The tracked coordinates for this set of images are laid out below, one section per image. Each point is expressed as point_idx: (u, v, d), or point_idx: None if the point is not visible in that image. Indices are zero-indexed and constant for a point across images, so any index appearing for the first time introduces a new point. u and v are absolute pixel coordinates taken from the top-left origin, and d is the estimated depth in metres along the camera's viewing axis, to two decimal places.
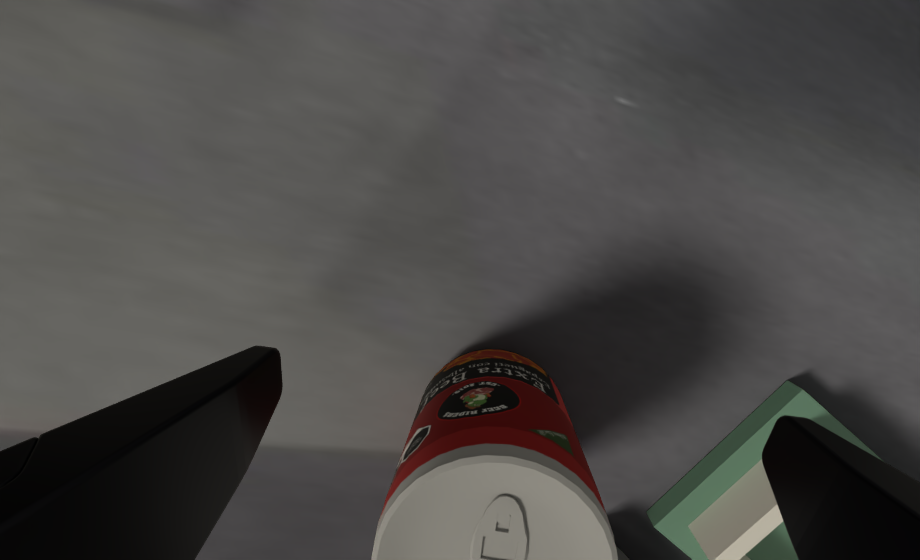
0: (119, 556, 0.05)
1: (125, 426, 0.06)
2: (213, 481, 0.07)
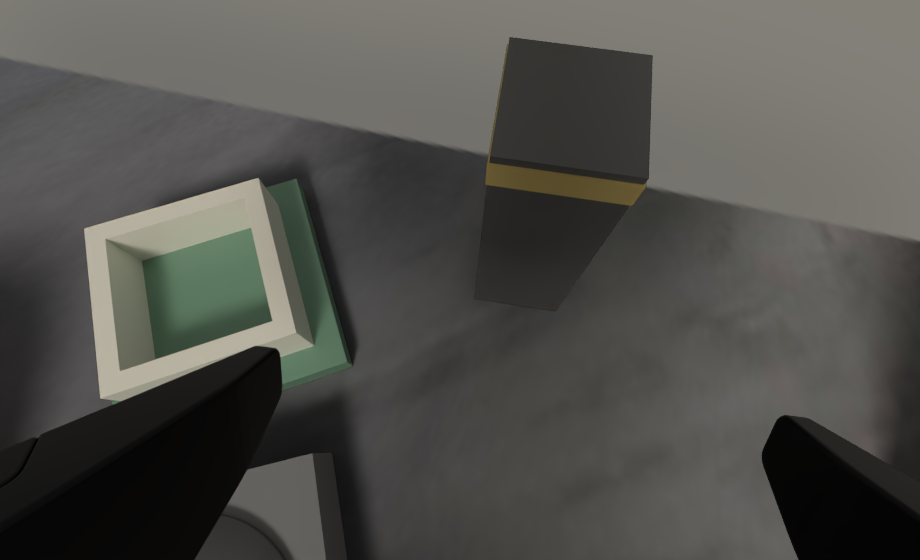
0: (119, 556, 0.05)
1: (125, 426, 0.06)
2: (213, 481, 0.07)
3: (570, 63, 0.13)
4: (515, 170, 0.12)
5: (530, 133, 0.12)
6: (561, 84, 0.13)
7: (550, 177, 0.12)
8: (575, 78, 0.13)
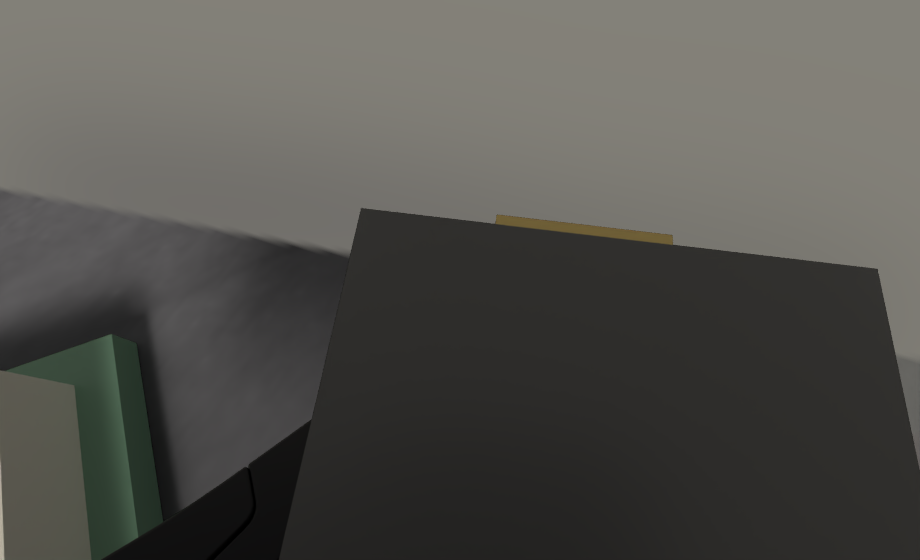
0: None
1: None
2: None
3: (581, 315, 0.03)
4: None
5: None
6: (550, 419, 0.03)
7: None
8: (604, 387, 0.03)
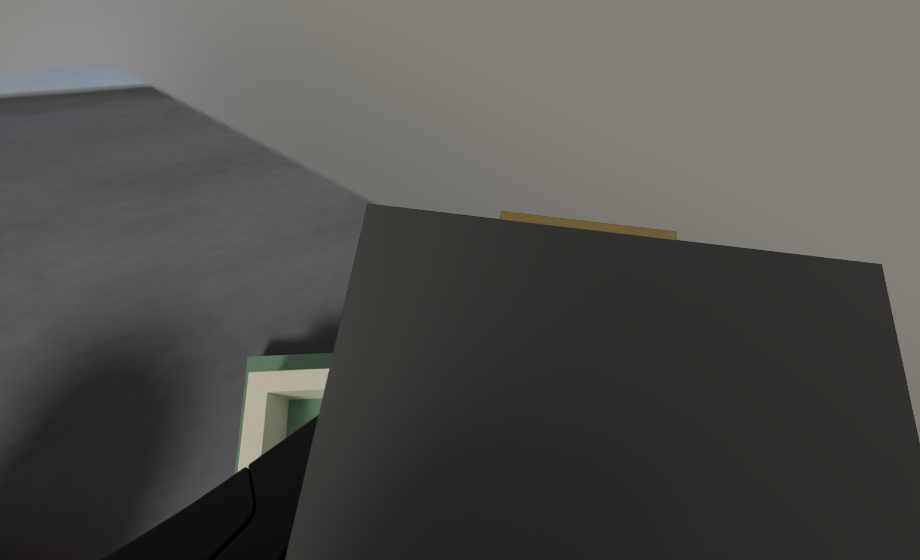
0: None
1: None
2: None
3: (586, 309, 0.03)
4: None
5: None
6: (556, 412, 0.03)
7: None
8: (610, 381, 0.03)
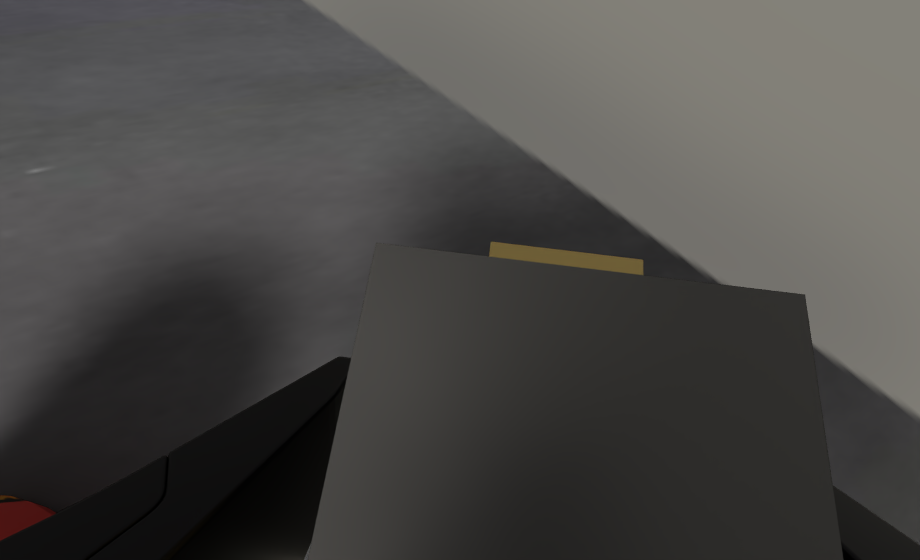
0: None
1: (248, 443, 0.06)
2: (314, 496, 0.07)
3: (558, 333, 0.04)
4: None
5: None
6: (531, 419, 0.04)
7: None
8: (576, 393, 0.04)
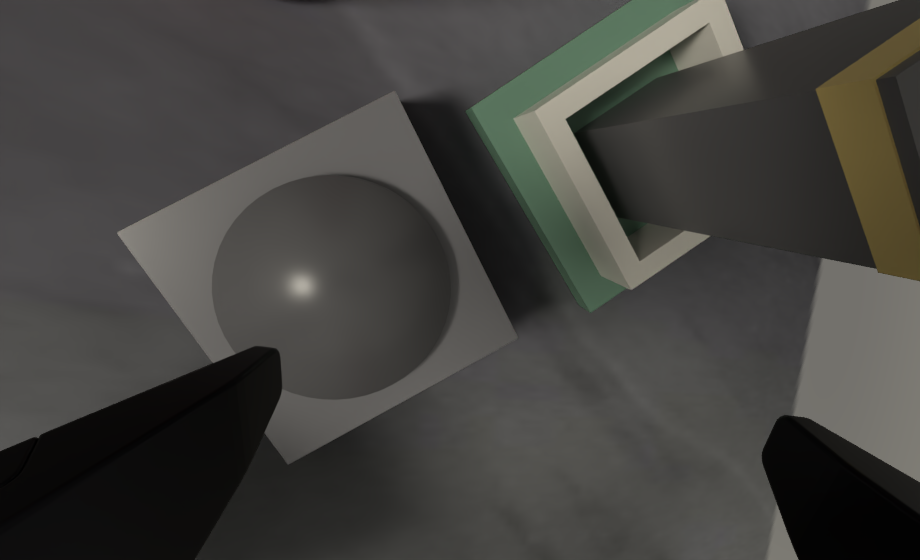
0: (119, 556, 0.05)
1: (125, 426, 0.06)
2: (213, 481, 0.07)
3: None
4: (875, 120, 0.08)
5: None
6: None
7: (885, 170, 0.08)
8: None
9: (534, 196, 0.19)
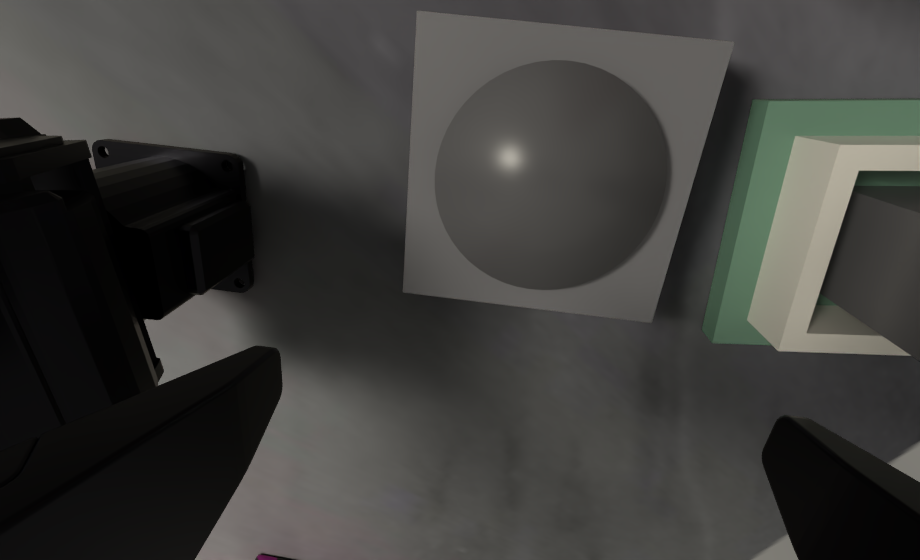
0: (119, 556, 0.05)
1: (125, 426, 0.06)
2: (213, 481, 0.07)
3: None
4: None
5: None
6: None
7: None
8: None
9: (753, 216, 0.18)
